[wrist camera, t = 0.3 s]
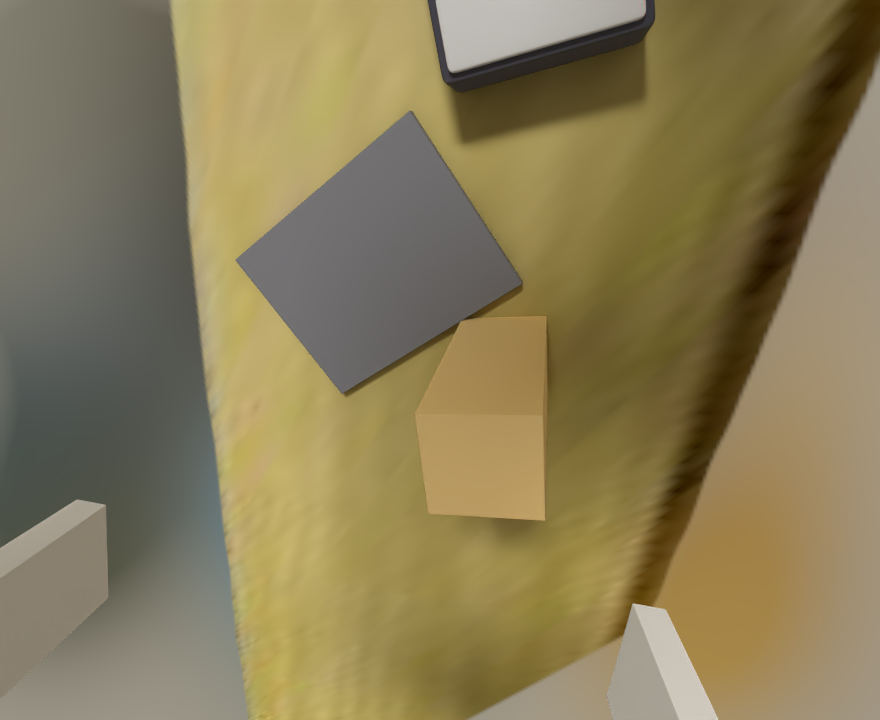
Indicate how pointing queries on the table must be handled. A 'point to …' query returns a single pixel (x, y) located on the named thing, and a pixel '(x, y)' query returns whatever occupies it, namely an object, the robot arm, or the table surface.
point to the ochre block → (488, 421)
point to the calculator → (529, 35)
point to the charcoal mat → (379, 258)
